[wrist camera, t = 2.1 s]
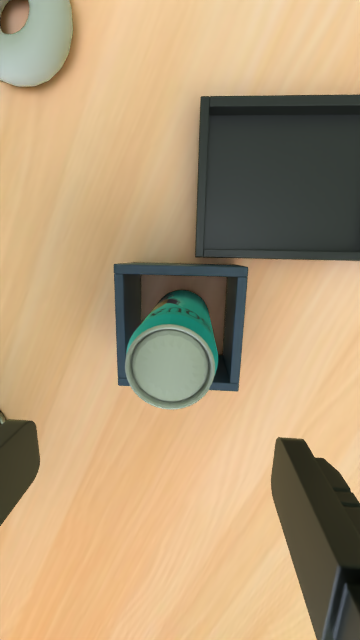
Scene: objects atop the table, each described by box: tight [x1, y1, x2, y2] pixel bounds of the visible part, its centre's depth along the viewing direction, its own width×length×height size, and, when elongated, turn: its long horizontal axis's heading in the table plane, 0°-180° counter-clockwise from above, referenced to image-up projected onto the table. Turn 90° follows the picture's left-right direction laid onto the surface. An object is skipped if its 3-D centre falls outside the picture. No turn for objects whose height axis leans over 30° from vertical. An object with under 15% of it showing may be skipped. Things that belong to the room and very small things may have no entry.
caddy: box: [114, 262, 248, 391], centre depth 26 cm, size 11×11×7 cm
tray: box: [195, 95, 360, 261], centre depth 25 cm, size 18×14×2 cm
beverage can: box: [125, 290, 218, 409], centre depth 22 cm, size 6×6×15 cm
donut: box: [0, 0, 73, 87], centre depth 22 cm, size 10×3×10 cm
